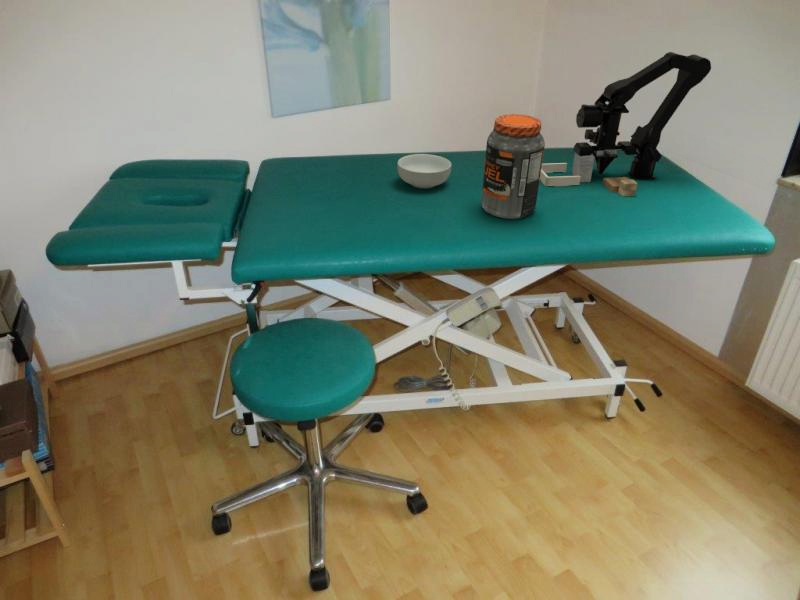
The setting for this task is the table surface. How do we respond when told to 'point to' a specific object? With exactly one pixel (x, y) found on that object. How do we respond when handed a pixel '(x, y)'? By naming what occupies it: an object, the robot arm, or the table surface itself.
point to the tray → (559, 179)
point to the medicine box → (583, 167)
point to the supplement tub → (513, 166)
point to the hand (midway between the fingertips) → (599, 174)
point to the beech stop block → (627, 188)
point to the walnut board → (613, 183)
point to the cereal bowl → (424, 170)
